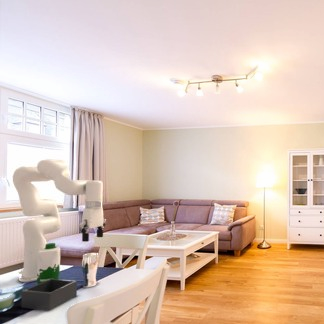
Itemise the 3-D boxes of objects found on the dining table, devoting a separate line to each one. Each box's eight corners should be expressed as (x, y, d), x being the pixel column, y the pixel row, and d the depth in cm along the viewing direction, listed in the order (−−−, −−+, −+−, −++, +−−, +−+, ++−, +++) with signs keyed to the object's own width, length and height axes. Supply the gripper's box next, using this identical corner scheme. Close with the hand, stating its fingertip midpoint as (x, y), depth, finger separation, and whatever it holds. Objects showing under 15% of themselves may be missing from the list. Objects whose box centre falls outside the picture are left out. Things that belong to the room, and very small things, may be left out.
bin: (21, 307, 113) (22, 290, 113) (50, 293, 126) (51, 278, 126) (49, 310, 110) (50, 293, 110) (76, 296, 123) (77, 280, 124)
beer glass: (90, 288, 132) (91, 256, 133) (77, 287, 133) (79, 256, 134) (100, 283, 139) (101, 253, 140) (89, 281, 140) (89, 252, 141)
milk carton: (60, 281, 141) (61, 242, 142) (57, 287, 133) (59, 246, 134) (39, 284, 137) (40, 243, 138) (34, 291, 129) (36, 248, 130)
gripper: (99, 203, 147) (98, 235, 146) (73, 206, 130) (72, 242, 129) (111, 203, 146) (111, 235, 145) (87, 206, 129) (86, 243, 128)
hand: (92, 239), depth 137 cm, fingers open, 9 cm apart
